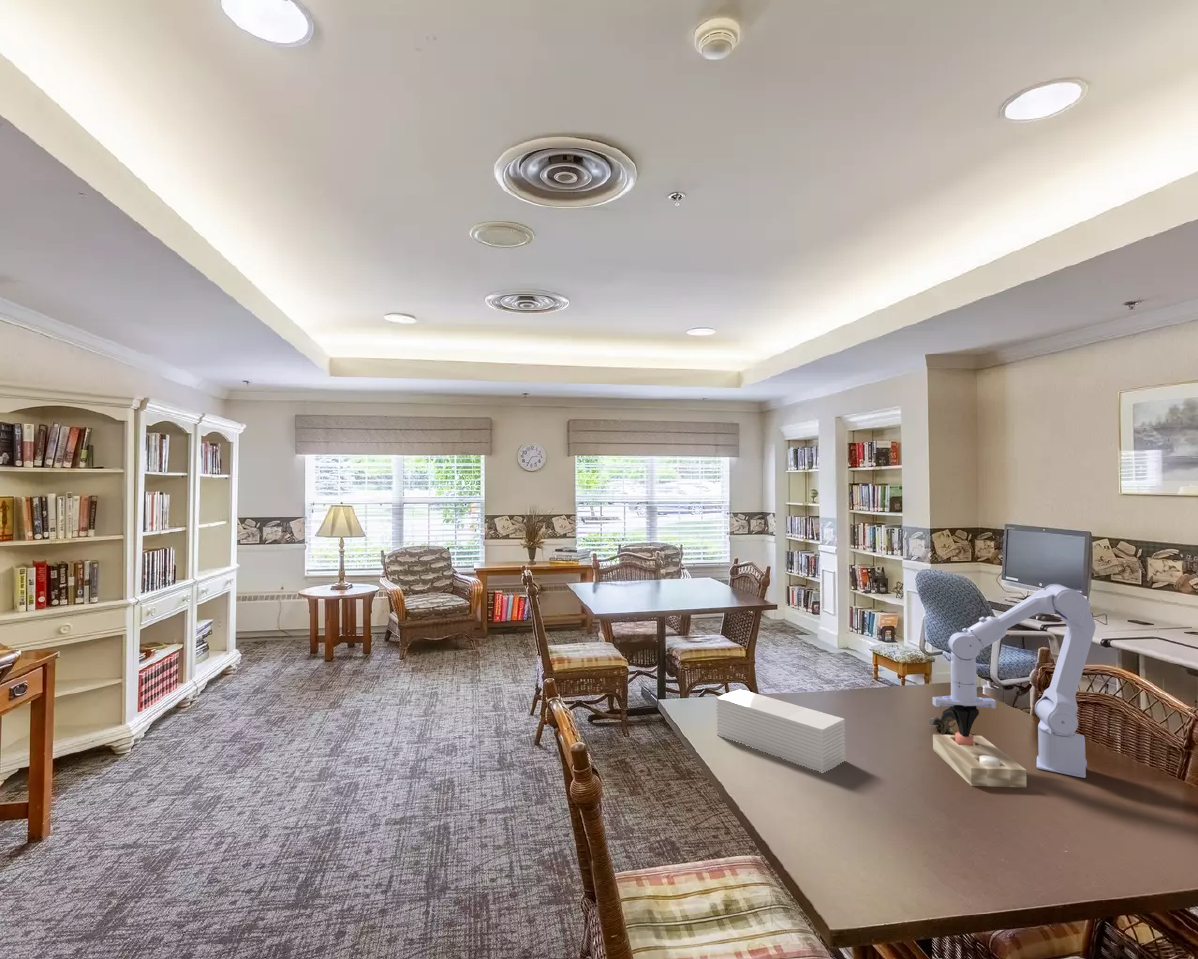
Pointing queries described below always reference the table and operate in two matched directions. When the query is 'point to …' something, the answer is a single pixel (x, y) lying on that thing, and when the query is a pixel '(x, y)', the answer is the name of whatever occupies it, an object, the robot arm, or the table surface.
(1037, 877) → the table surface
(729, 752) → the table surface
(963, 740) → the pink rounded plug
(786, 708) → the stack of papers
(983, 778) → the press housing
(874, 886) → the table surface
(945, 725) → the eagle figurine
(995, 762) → the ivory plunger
